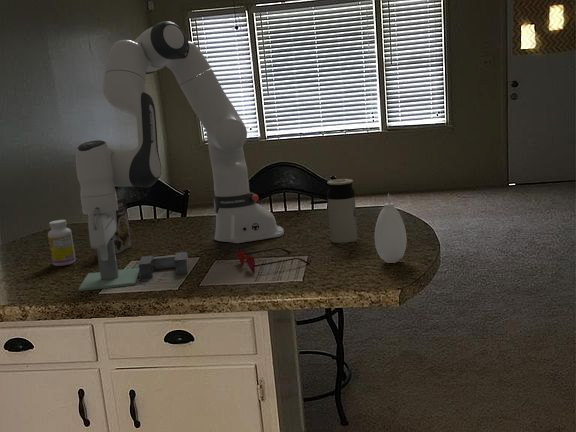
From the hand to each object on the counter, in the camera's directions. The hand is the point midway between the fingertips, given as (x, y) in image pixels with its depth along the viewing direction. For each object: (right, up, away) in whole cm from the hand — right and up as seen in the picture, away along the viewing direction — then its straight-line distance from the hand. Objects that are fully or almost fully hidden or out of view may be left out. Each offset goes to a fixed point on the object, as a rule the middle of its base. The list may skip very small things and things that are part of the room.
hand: (107, 256), depth 161 cm
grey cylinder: (0, -6, +1) cm, 6 cm away
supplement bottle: (-19, -4, +23) cm, 30 cm away
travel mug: (+64, +3, +23) cm, 68 cm away
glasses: (+43, -3, +5) cm, 43 cm away
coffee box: (-7, 0, +34) cm, 35 cm away
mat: (+1, -6, +1) cm, 6 cm away
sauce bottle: (+74, -2, -4) cm, 74 cm away
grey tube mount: (+14, -4, +5) cm, 16 cm away
